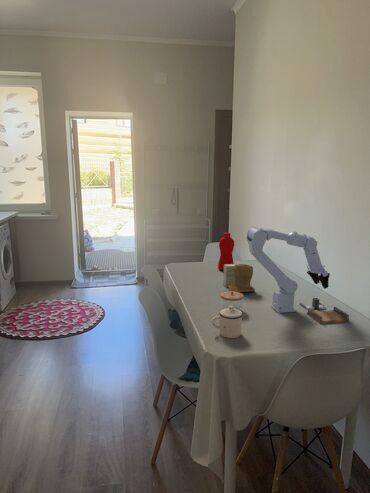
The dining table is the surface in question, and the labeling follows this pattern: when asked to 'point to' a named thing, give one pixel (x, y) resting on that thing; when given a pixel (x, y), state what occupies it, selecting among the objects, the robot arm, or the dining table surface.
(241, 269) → the brown boot
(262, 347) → the dining table surface
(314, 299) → the spectacles
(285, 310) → the robot arm
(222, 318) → the teacup with lid
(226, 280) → the skincare box
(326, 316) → the stand
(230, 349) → the dining table surface
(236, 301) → the lidded jar
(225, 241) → the red bottle
